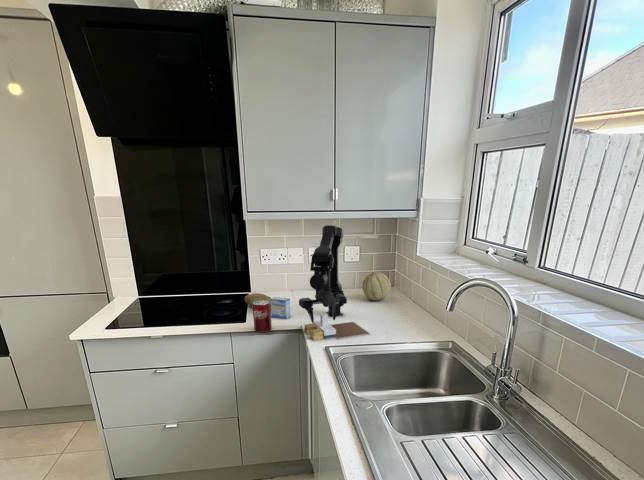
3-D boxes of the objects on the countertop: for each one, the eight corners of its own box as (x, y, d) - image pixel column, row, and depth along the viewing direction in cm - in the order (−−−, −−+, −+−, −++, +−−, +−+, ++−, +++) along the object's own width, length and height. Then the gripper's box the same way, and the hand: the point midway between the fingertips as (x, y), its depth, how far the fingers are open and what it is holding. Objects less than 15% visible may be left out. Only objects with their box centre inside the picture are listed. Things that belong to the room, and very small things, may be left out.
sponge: (277, 314, 196) (269, 295, 212) (274, 300, 191) (266, 282, 207) (251, 321, 194) (245, 302, 209) (247, 307, 189) (241, 288, 204)
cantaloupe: (395, 299, 214) (397, 271, 209) (378, 305, 205) (379, 276, 199) (373, 294, 224) (374, 267, 218) (356, 300, 214) (356, 271, 208)
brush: (313, 329, 172) (312, 310, 169) (324, 327, 174) (323, 308, 170) (324, 339, 161) (324, 319, 158) (336, 337, 163) (336, 317, 159)
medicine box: (271, 317, 188) (270, 299, 184) (275, 314, 191) (274, 296, 188) (286, 318, 185) (285, 300, 182) (290, 316, 189) (290, 298, 186)
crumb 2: (310, 337, 163) (310, 330, 162) (320, 335, 165) (319, 328, 164) (314, 340, 160) (314, 333, 159) (323, 339, 161) (323, 332, 160)
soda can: (266, 333, 167) (264, 305, 162) (251, 331, 169) (248, 304, 165) (274, 328, 173) (273, 301, 169) (259, 326, 176) (257, 299, 171)
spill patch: (323, 326, 175) (323, 326, 175) (352, 322, 180) (352, 321, 180) (337, 338, 161) (337, 338, 161) (369, 334, 166) (369, 333, 166)
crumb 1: (304, 331, 170) (304, 324, 169) (313, 330, 171) (313, 323, 170) (307, 334, 166) (307, 327, 165) (316, 333, 168) (316, 326, 167)
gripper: (306, 290, 149) (308, 330, 155) (352, 285, 156) (352, 324, 162) (297, 284, 158) (299, 322, 165) (341, 280, 165) (341, 316, 171)
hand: (323, 321), depth 165 cm, fingers open, 9 cm apart
